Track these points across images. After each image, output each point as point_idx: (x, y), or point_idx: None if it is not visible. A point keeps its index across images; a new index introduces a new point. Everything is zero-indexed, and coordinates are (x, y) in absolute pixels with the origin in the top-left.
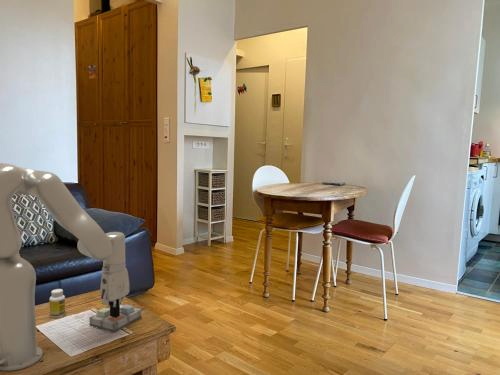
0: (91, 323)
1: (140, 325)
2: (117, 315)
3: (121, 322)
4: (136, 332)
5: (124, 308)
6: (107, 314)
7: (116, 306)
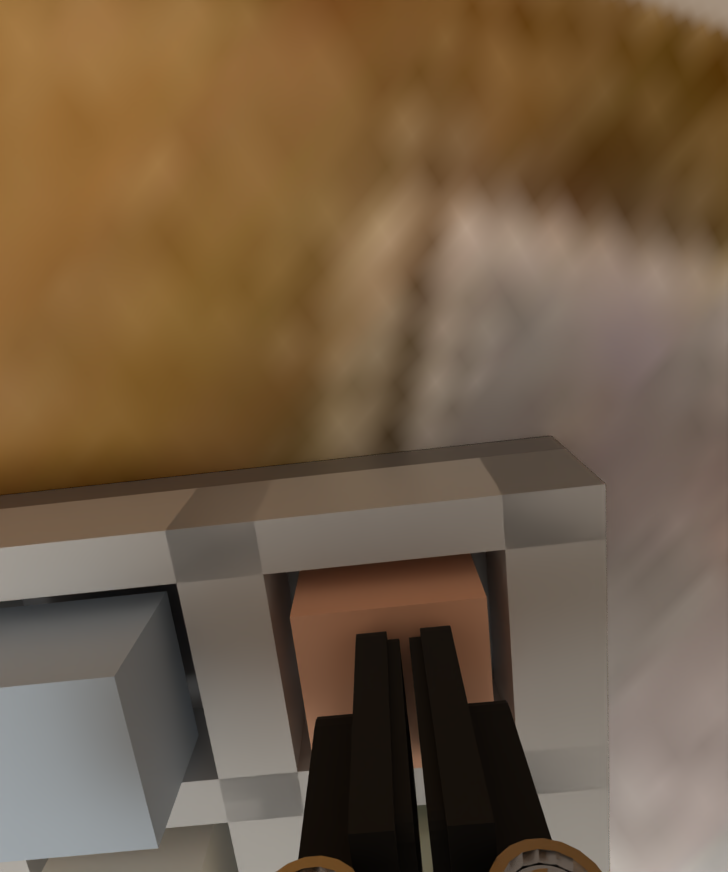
0: None
1: (131, 293)
2: (429, 640)
3: (403, 488)
4: (344, 141)
5: (124, 765)
6: (422, 852)
7: (471, 847)
